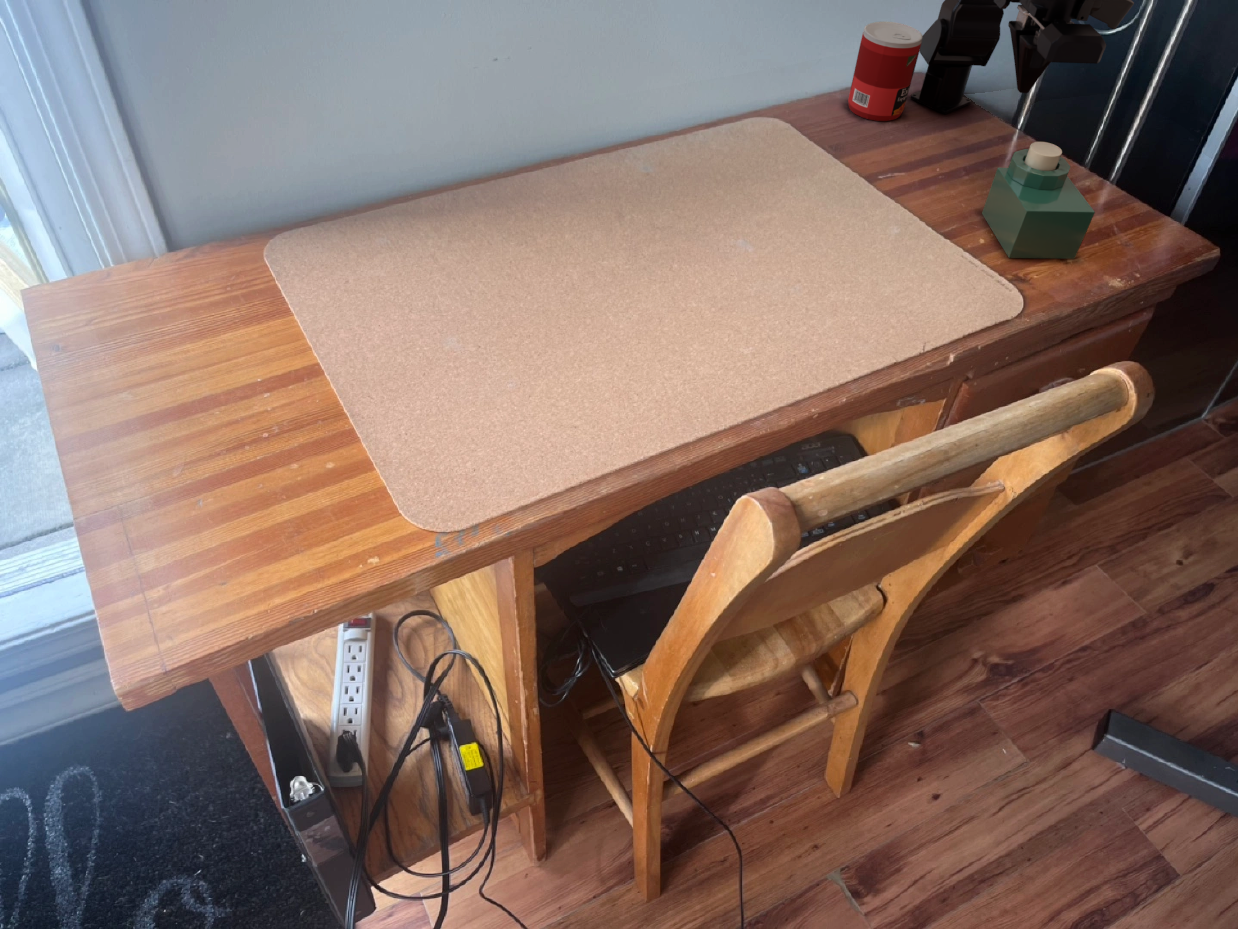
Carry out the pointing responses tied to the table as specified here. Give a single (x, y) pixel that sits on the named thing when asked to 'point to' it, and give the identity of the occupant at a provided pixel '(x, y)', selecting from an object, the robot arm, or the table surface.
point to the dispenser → (1037, 211)
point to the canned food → (884, 70)
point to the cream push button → (1043, 156)
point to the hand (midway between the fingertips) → (1022, 91)
